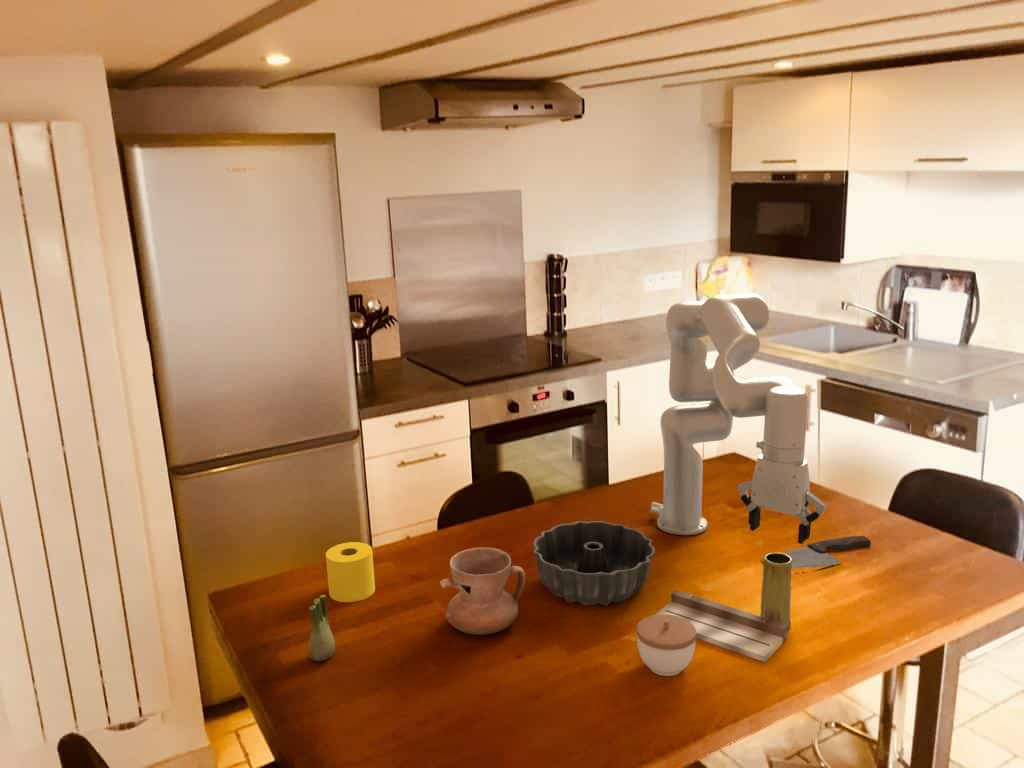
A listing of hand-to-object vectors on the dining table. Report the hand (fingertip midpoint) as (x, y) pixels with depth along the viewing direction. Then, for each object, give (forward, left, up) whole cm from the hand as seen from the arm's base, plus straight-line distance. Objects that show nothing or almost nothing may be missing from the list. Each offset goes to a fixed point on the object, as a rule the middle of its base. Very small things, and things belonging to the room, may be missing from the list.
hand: (778, 534), depth 168 cm
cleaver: (-3, +34, -20) cm, 40 cm away
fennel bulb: (-64, -62, -19) cm, 91 cm away
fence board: (-8, -9, -19) cm, 23 cm away
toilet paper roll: (-80, -41, -19) cm, 92 cm away
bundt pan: (-38, -8, -19) cm, 43 cm away
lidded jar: (-10, -26, -19) cm, 34 cm away
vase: (0, 0, -19) cm, 19 cm away
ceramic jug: (-47, -34, -19) cm, 61 cm away
